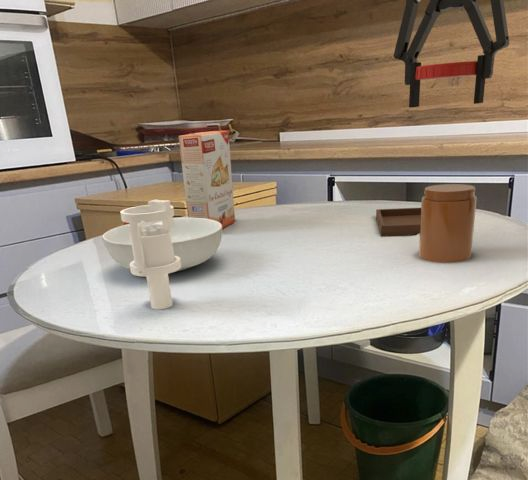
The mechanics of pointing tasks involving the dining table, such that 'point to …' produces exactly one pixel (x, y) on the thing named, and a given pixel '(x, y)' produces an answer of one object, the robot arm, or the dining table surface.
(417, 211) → the tray
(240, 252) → the dining table surface
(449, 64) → the lid
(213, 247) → the serving bowl
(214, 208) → the cracker box
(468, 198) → the jar
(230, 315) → the dining table surface
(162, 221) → the white framed cylinder holder
